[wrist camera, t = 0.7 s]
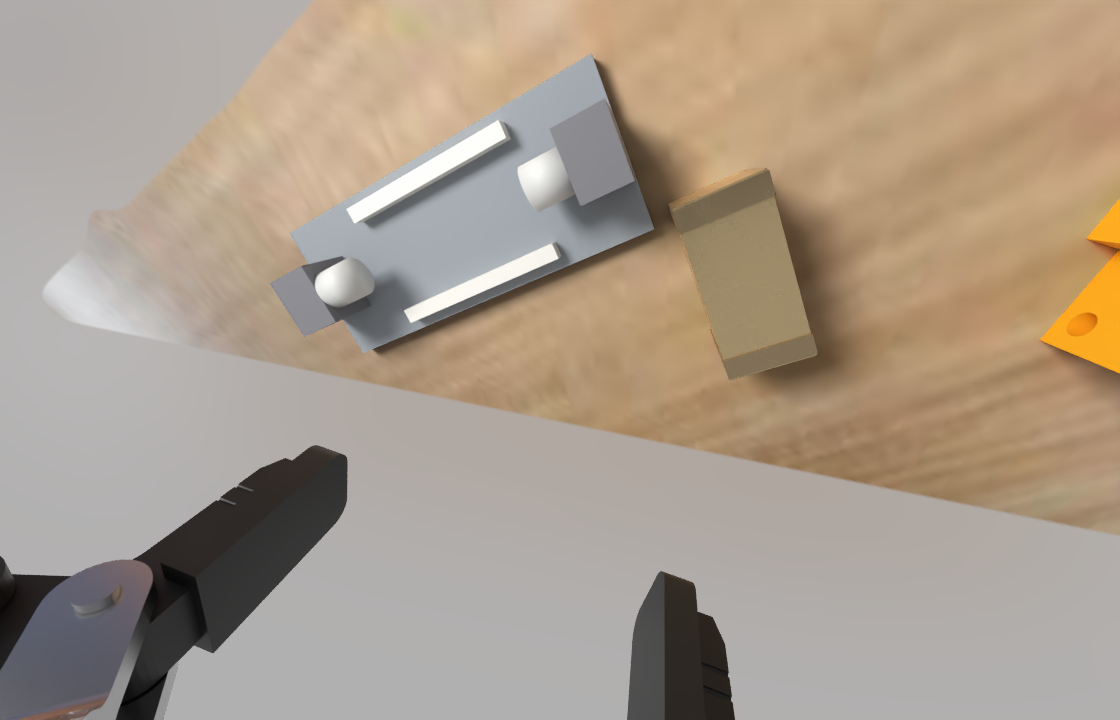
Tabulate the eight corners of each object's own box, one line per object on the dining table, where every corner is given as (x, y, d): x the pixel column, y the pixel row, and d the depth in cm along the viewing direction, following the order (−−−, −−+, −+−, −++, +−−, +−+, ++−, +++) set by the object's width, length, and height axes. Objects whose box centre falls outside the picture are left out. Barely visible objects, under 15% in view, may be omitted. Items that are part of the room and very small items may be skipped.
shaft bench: (593, 58, 24) (580, 29, 19) (654, 227, 27) (654, 237, 22) (299, 231, 32) (240, 240, 27) (370, 348, 35) (328, 374, 30)
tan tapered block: (667, 203, 26) (671, 209, 21) (744, 169, 25) (768, 167, 20) (716, 346, 29) (729, 381, 24) (787, 323, 27) (818, 355, 22)
